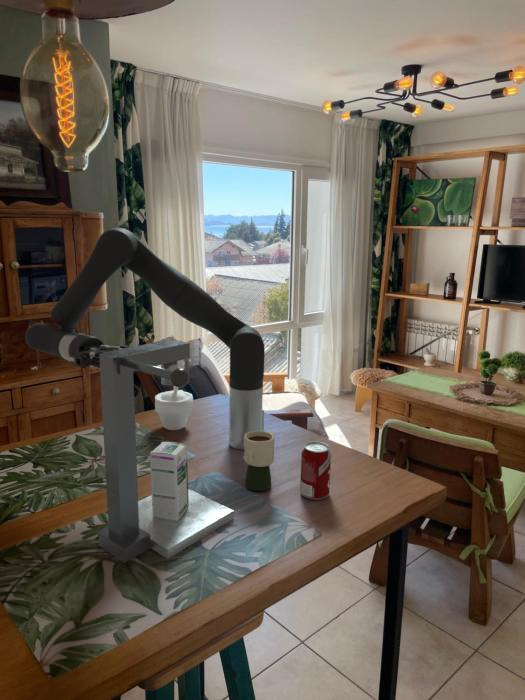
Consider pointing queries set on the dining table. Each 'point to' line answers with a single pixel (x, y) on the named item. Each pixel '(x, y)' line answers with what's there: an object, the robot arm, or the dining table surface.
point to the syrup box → (169, 480)
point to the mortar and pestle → (174, 405)
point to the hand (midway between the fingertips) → (121, 360)
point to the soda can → (315, 471)
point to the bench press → (121, 464)
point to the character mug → (258, 459)
